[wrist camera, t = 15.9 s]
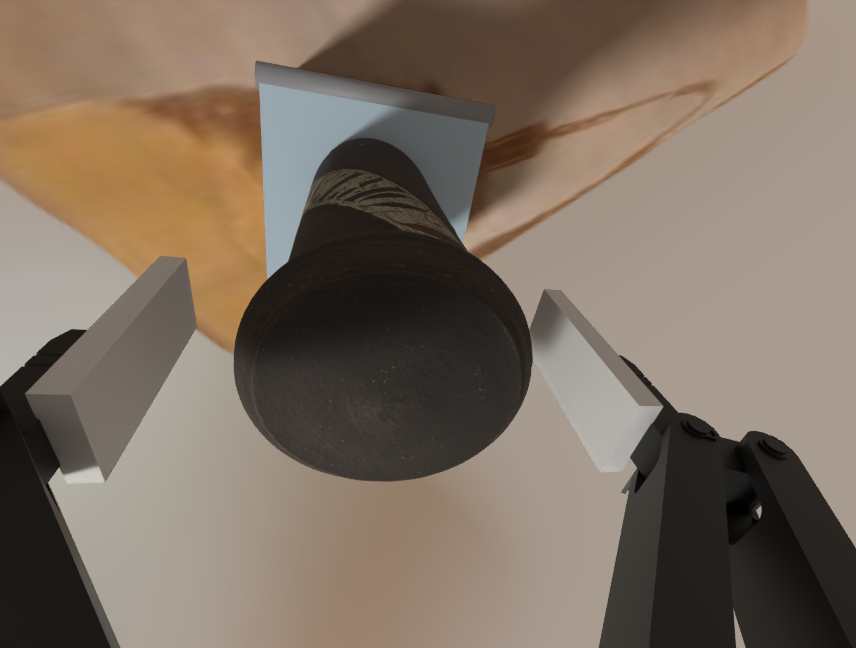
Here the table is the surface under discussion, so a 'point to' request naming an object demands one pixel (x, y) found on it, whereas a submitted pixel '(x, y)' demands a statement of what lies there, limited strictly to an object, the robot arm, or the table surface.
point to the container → (380, 331)
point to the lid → (359, 118)
